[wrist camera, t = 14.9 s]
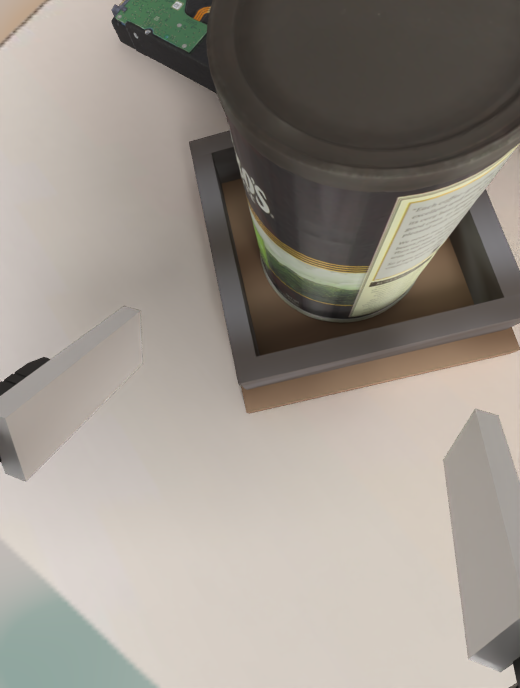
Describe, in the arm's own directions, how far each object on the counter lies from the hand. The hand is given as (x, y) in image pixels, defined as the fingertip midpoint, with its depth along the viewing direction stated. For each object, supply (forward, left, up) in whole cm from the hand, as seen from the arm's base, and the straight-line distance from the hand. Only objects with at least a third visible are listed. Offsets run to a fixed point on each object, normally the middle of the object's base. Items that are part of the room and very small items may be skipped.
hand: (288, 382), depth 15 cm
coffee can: (+9, -5, -8) cm, 13 cm away
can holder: (+9, -5, -9) cm, 14 cm away
